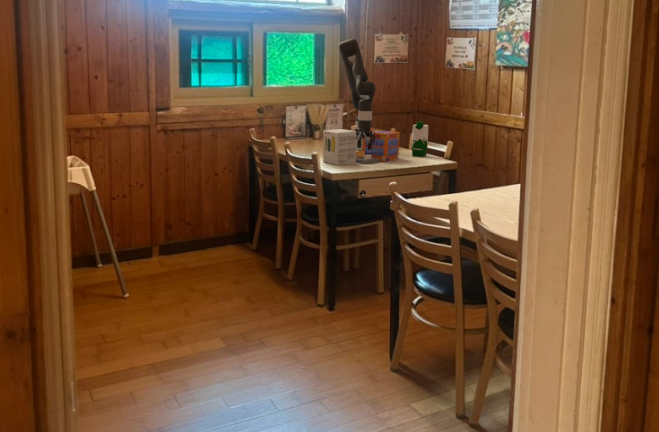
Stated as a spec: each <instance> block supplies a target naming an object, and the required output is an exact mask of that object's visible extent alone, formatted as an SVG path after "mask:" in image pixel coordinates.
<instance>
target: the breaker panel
mask: <svg viewBox="0 0 659 432" xmlns="http://www.w3.org/2000/svg"><path fill="white" fill-rule="evenodd" d="M376 163H377V164H378V163H380V161H379V159H378V158H372V157H371V155H364V157H356V163H355V164H360V165H369V164H376Z"/></svg>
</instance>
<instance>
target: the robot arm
mask: <svg viewBox="0 0 659 432" xmlns="http://www.w3.org/2000/svg"><path fill="white" fill-rule="evenodd" d="M338 50H339V51H338V52H339V54H340V57H341V60H342V63H343V66H344V70H345V75H346V79H347V82H348V85H349V89H350V93H351V100H352V104H353V109H355V110H356V111H358V115H357V116H356V117H355V123H354V124H355V125H354V126H355V131H356V151H362V146H363V145H362V144H363V138H365V139H366V140H367V141H368V150H371V149H372V142H375V131H374V130H372V131H371V130H370V129H371V128H372V129H373V111H372V109H373V101H374V97H375V93H376V89H377V88H376V83H374V82H373V81H368V80H369V76H368V73H367V71H366V68H365V65H364V61H363V56H362V52H361V49H360V46H359V43H358V40H357V39H356V38H349V39H345V40H344V41H340V42H339V43H338ZM353 56H355V58H354V62H353V61H351V60H350V58H351V57H353ZM372 137H373V140H372ZM369 140H370V141H369Z"/></svg>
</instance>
